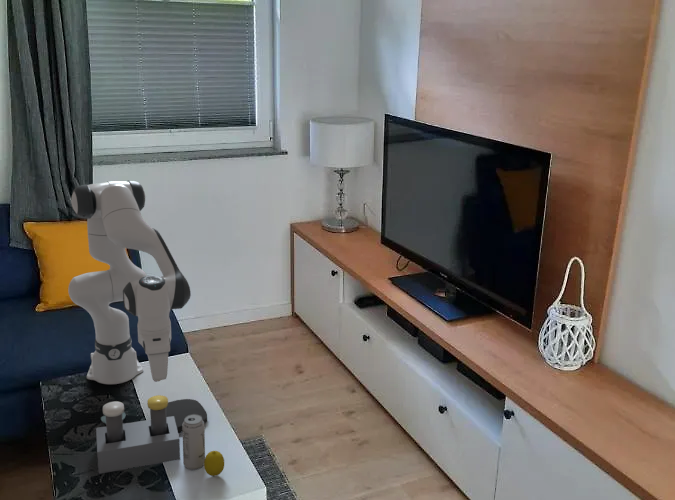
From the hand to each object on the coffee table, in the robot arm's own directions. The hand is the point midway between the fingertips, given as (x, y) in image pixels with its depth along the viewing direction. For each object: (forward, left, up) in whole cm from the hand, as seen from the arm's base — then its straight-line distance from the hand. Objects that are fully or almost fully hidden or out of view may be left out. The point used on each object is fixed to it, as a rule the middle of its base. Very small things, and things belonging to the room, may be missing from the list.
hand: (156, 379), depth 186 cm
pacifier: (-20, -12, -24) cm, 33 cm away
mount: (0, -6, -24) cm, 24 cm away
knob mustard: (0, 0, -18) cm, 18 cm away
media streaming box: (-15, +8, -24) cm, 30 cm away
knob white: (0, -12, -18) cm, 22 cm away
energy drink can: (+9, +8, -24) cm, 27 cm away
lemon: (+16, +13, -24) cm, 31 cm away
